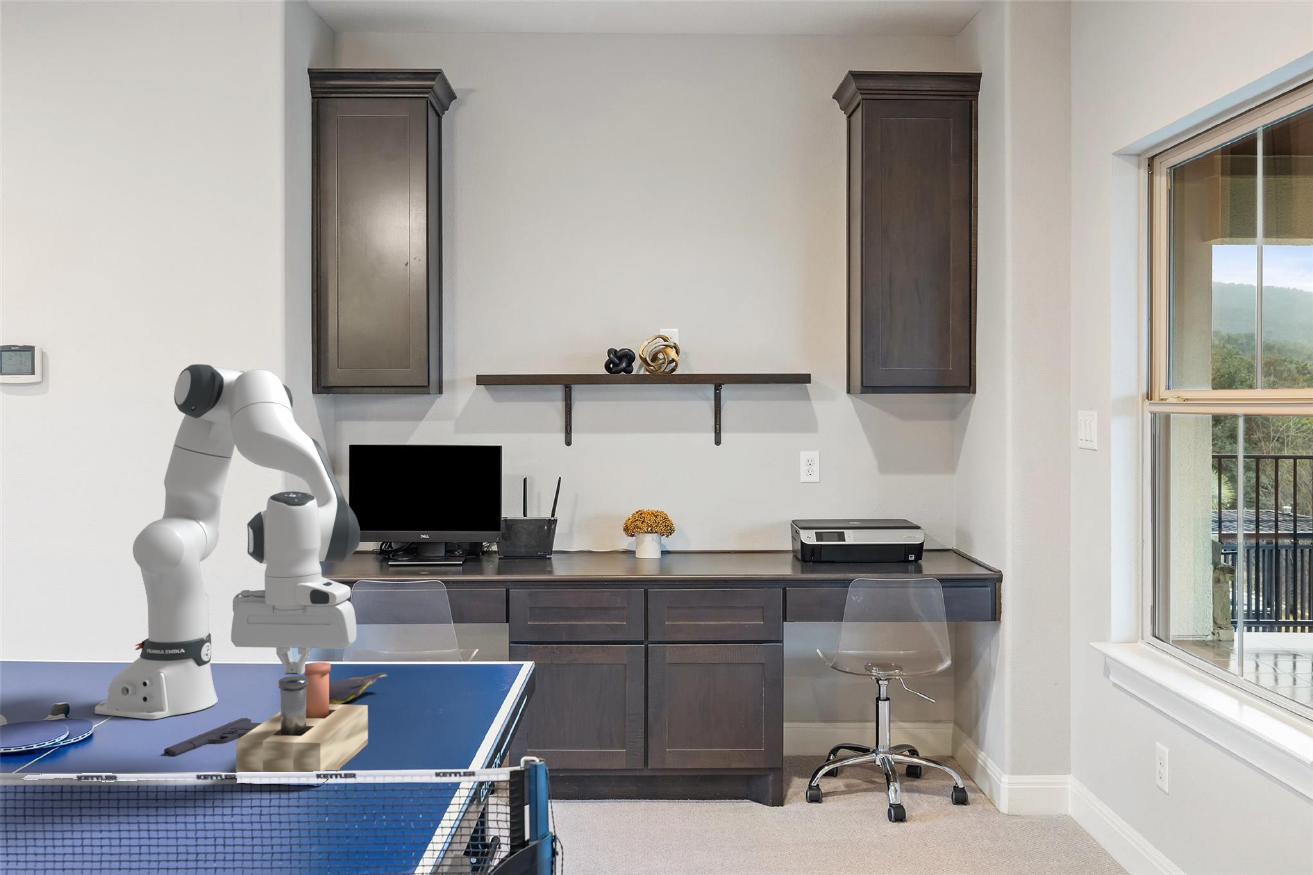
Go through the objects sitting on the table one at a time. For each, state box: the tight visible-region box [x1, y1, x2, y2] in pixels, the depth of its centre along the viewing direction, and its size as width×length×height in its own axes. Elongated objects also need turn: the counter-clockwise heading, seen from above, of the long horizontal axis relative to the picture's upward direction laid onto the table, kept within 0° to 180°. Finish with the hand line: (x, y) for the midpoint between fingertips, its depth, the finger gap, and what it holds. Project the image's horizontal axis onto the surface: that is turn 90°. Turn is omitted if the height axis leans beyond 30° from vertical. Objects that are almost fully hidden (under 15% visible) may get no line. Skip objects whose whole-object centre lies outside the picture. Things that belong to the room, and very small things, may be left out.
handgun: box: [163, 717, 263, 757], centre depth 171 cm, size 18×2×12 cm
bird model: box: [329, 672, 389, 705], centre depth 196 cm, size 5×20×5 cm, turn 144°
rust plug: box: [303, 661, 332, 719], centre depth 166 cm, size 5×5×10 cm
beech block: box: [235, 704, 369, 773], centre depth 161 cm, size 14×20×7 cm
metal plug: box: [277, 675, 308, 736], centre depth 157 cm, size 5×5×10 cm
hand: (294, 673), depth 157 cm, fingers closed
